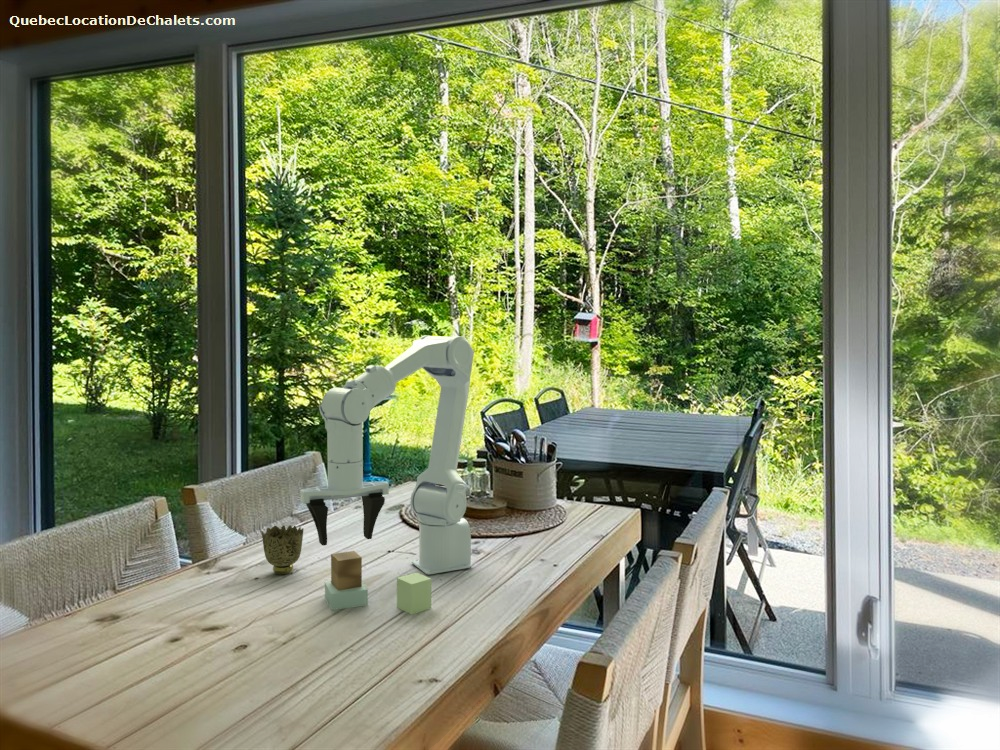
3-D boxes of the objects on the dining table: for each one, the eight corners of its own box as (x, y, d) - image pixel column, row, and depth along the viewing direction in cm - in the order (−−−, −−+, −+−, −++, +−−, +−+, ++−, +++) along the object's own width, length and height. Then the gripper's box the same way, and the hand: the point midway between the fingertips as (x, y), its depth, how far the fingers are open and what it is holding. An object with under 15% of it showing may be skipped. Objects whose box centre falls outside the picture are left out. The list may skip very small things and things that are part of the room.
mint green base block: (360, 594, 132) (360, 577, 132) (367, 607, 126) (367, 589, 126) (324, 599, 130) (324, 582, 129) (331, 612, 124) (331, 594, 124)
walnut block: (354, 579, 131) (354, 550, 130) (361, 586, 127) (361, 557, 127) (331, 583, 129) (331, 554, 129) (338, 590, 125) (338, 560, 125)
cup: (292, 580, 137) (291, 537, 137) (254, 577, 139) (254, 534, 138) (310, 567, 145) (310, 526, 144) (274, 564, 146) (274, 523, 146)
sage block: (416, 601, 128) (416, 572, 128) (431, 608, 125) (431, 578, 125) (396, 607, 125) (397, 577, 125) (411, 614, 123) (411, 584, 122)
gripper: (378, 452, 133) (378, 529, 134) (295, 459, 126) (296, 540, 127) (393, 459, 127) (393, 539, 128) (306, 467, 120) (307, 551, 121)
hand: (345, 540), depth 127 cm, fingers open, 7 cm apart
